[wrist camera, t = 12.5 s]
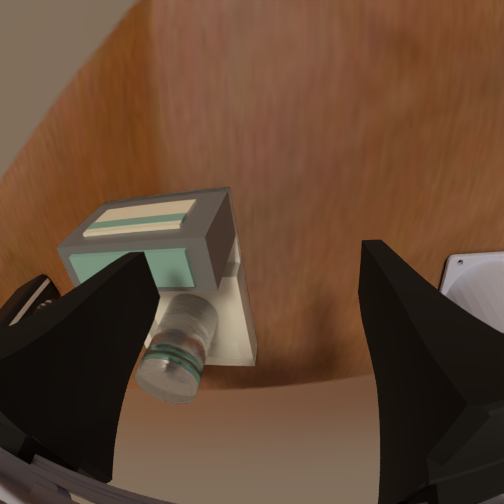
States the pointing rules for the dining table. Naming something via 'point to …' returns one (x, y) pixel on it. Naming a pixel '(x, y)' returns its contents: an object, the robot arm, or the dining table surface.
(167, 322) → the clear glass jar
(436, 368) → the robot arm
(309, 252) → the dining table surface
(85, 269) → the charging station
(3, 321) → the battery charger
